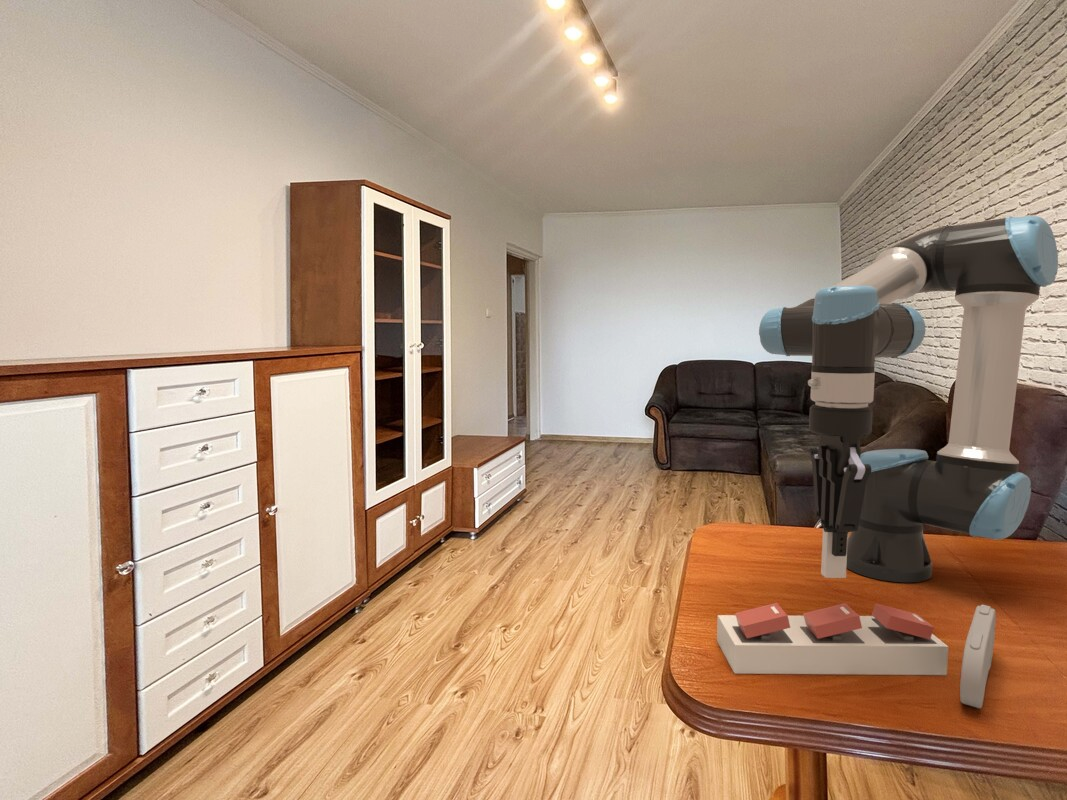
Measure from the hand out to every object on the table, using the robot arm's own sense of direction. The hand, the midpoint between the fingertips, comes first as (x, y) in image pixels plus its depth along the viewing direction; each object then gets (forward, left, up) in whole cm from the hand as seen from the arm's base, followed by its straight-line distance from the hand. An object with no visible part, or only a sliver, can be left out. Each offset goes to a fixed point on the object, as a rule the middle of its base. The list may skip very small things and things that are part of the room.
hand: (833, 575), depth 85 cm
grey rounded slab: (-17, +4, -13) cm, 22 cm away
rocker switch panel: (0, -2, -13) cm, 13 cm away
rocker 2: (0, 0, -6) cm, 6 cm away
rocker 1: (+9, 0, -6) cm, 11 cm away
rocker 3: (-10, 0, -6) cm, 11 cm away
